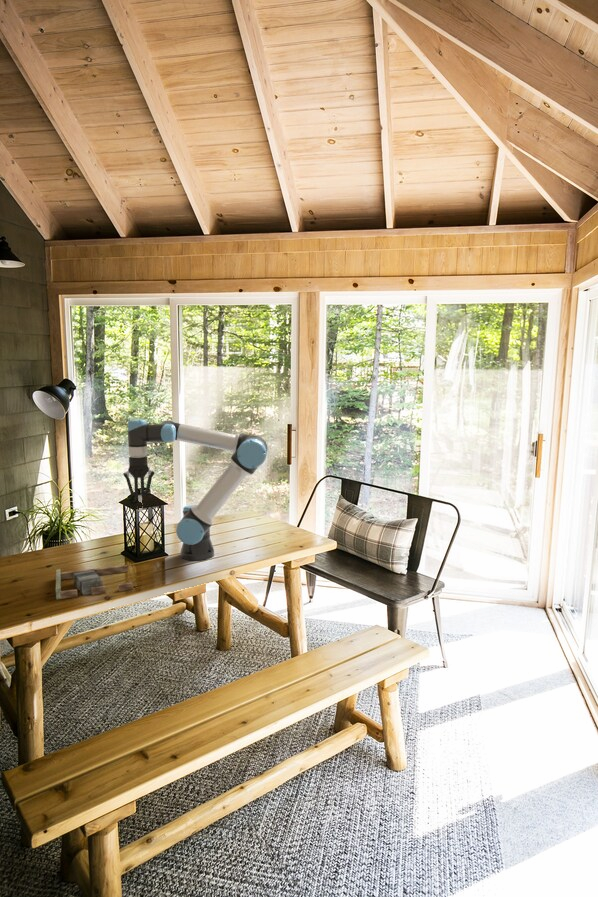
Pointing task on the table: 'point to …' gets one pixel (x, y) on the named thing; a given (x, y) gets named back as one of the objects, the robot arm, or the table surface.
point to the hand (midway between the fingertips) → (140, 510)
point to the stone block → (87, 581)
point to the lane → (94, 590)
